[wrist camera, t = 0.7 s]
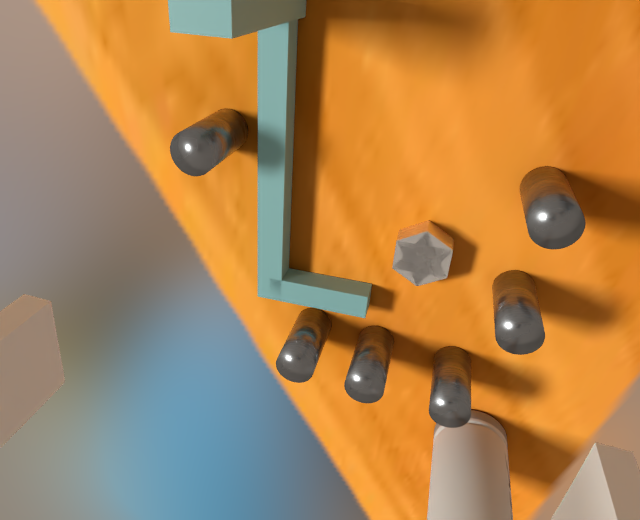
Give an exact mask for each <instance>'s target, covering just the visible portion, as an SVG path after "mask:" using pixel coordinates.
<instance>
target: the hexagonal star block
mask: <svg viewBox="0 0 640 520" xmlns="http://www.w3.org/2000/svg"><path fill="white" fill-rule="evenodd" d="M453 244H454V239H453V238H452V237H451V236H449V235H448V234H447V233H445V232H444V231H443V230H441V229H440V228H439V227H437V226H436V225H435V224H433V223H432V222H431V221H429V220H428V221H425V222H422V223H419V224H416V225H413V226H410V227H407V228H404V229H400V230H399V234H398V238H397V242H396V248H395V255H394V261H393V269H394V270H396V271H397V272H398V273H400V274H401V275H402V276H404V277H405V278H407V279H408V280H409V281H411V282H412V283H413V284H415V285H416V286H419V285H423V284H427V283H431V282H434V281H438V280H442V279H445V278H447V276H448V271H449V267H450V262H451V258H452V253H453Z"/></svg>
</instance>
